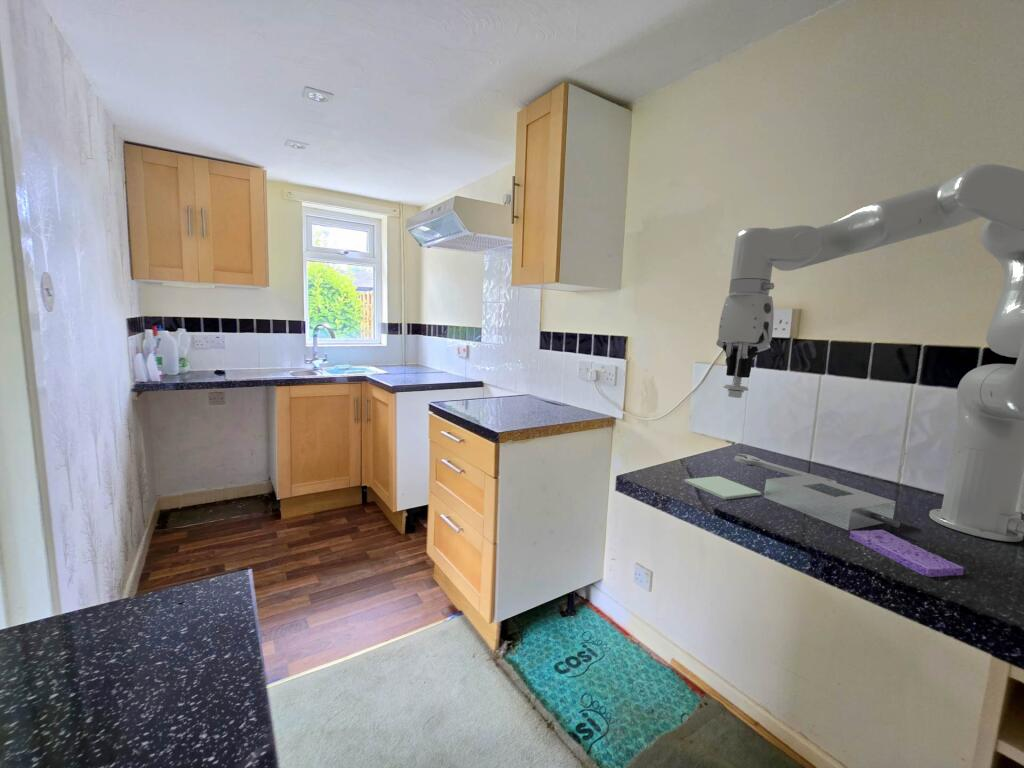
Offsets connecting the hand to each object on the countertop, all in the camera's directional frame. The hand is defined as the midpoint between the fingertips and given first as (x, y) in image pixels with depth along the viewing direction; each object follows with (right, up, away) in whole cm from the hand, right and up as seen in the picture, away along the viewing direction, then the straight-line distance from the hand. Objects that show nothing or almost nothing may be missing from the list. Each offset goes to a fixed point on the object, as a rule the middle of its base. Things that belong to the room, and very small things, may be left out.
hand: (737, 375), depth 96 cm
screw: (0, -5, +1) cm, 5 cm away
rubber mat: (-2, -25, +3) cm, 25 cm away
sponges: (+14, -30, -24) cm, 41 cm away
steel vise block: (+16, -27, -7) cm, 32 cm away
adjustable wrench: (+21, -25, +21) cm, 39 cm away
